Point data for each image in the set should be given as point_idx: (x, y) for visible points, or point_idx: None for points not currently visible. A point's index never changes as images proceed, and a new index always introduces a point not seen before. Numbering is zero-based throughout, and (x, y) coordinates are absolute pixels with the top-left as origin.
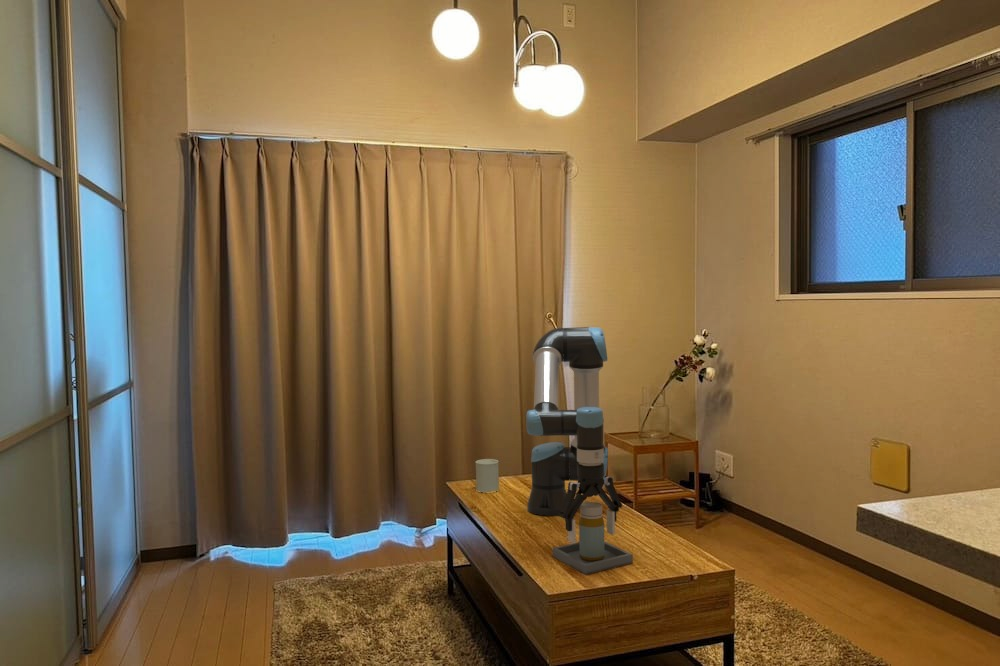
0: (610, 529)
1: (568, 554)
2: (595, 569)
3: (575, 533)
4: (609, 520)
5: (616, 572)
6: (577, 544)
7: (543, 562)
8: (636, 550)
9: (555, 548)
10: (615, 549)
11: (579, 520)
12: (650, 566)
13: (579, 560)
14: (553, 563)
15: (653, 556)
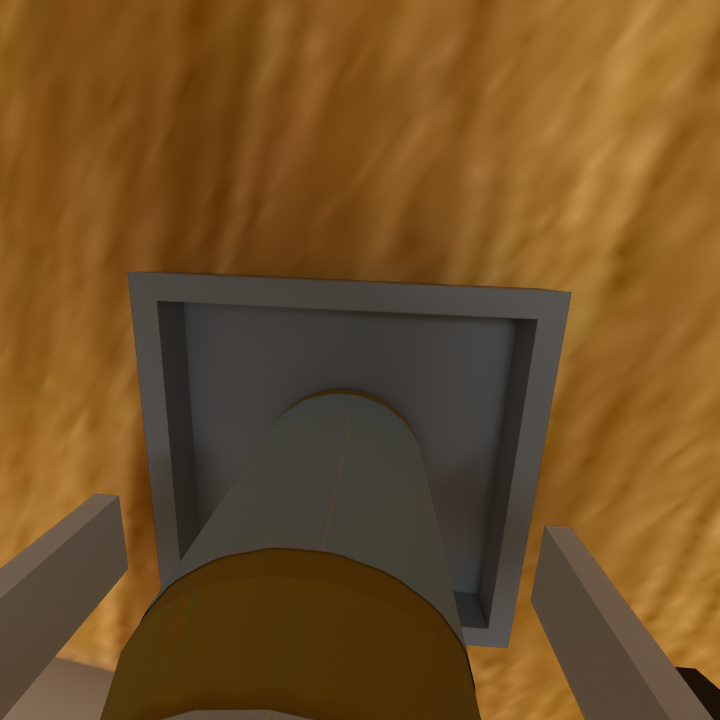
0: (555, 608)
1: (167, 440)
2: None
3: (57, 652)
4: (614, 705)
5: None
6: (344, 309)
7: (71, 320)
8: (673, 485)
9: (143, 293)
10: (501, 523)
11: (120, 662)
12: (529, 667)
13: (176, 550)
14: (119, 367)
15: (661, 596)
